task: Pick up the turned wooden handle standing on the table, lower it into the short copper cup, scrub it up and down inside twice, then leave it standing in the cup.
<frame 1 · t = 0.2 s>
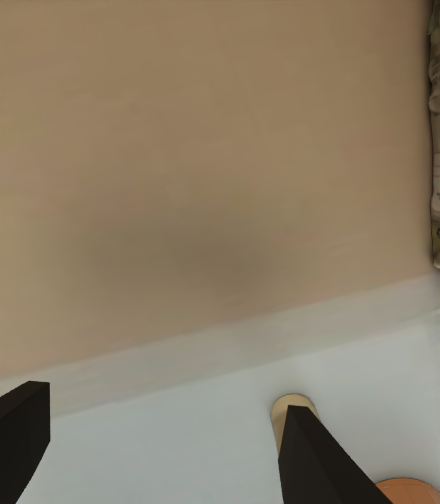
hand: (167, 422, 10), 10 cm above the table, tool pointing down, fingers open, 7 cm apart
turned wooden handle: (292, 413, 21), on the table
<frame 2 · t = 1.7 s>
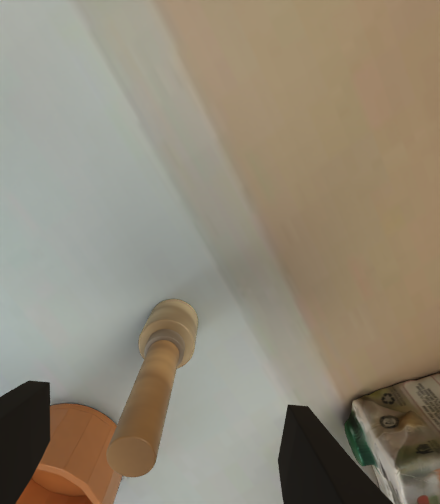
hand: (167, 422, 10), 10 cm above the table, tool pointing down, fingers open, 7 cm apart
turned wooden handle: (174, 321, 20), on the table
copper cup: (73, 450, 22), on the table
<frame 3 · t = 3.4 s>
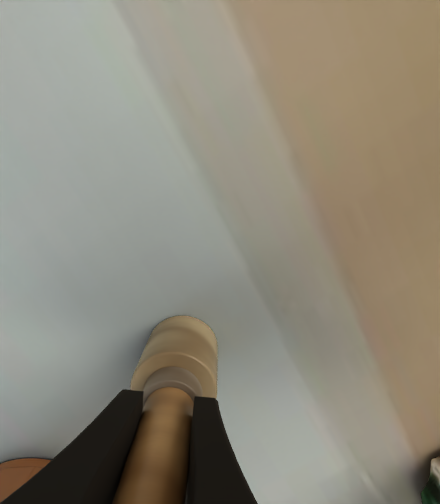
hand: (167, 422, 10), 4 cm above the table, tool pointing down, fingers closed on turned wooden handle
turned wooden handle: (183, 346, 14), on the table, touching gripper
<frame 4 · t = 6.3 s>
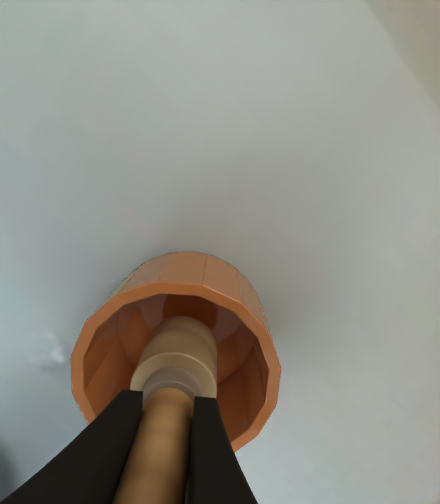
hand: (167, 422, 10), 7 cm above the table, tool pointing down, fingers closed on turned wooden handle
turned wooden handle: (182, 347, 14), point 2 cm above the table, touching gripper
copper cup: (187, 324, 16), on the table
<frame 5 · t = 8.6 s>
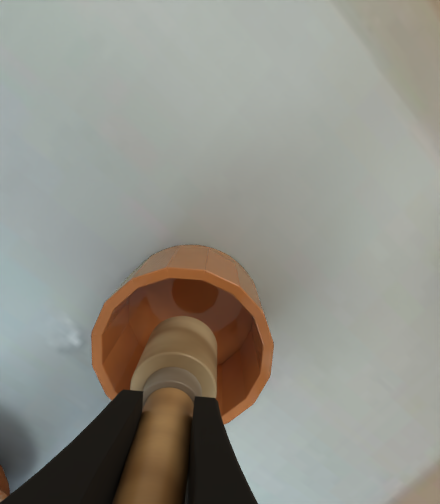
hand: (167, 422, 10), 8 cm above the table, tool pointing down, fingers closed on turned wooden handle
turned wooden handle: (182, 347, 14), point 4 cm above the table, touching gripper
copper cup: (191, 310, 18), on the table
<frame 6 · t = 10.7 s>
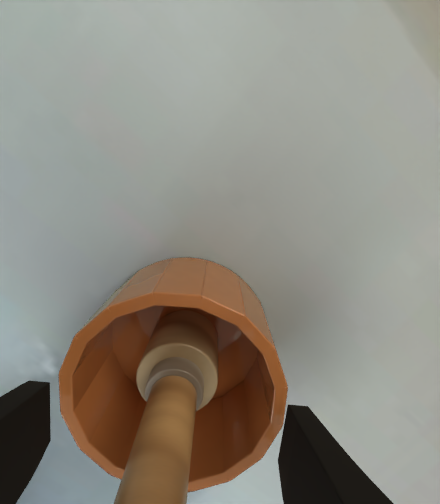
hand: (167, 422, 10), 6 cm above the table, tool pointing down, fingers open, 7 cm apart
turned wooden handle: (185, 340, 15), resting on copper cup
copper cup: (186, 334, 15), on the table
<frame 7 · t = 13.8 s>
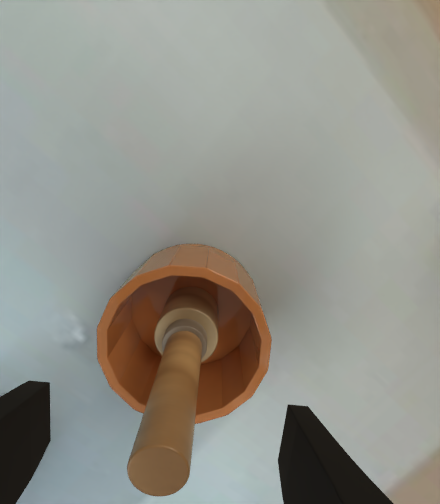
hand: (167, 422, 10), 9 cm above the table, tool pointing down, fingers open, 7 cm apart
turned wooden handle: (191, 311, 18), resting on copper cup
copper cup: (192, 307, 18), on the table
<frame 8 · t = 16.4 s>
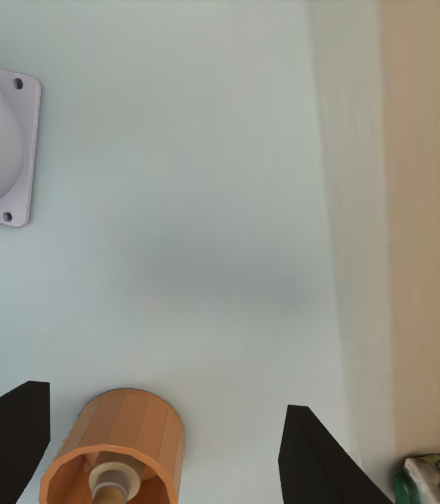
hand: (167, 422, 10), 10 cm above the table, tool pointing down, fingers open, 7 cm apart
turned wooden handle: (128, 442, 22), resting on copper cup
copper cup: (130, 436, 22), on the table
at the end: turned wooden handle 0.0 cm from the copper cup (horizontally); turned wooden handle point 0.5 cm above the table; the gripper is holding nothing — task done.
